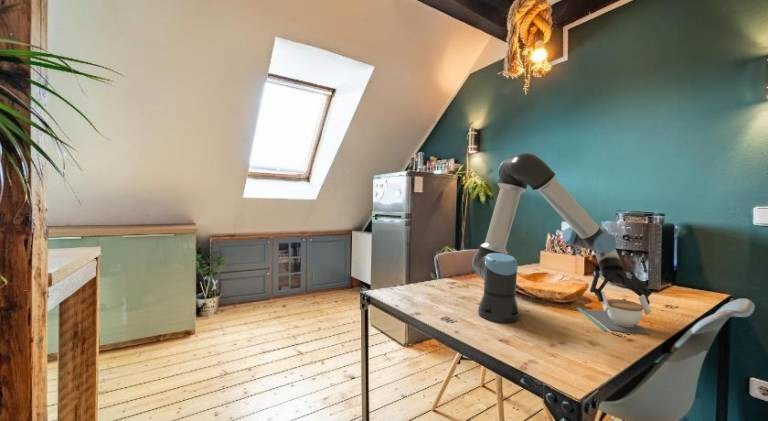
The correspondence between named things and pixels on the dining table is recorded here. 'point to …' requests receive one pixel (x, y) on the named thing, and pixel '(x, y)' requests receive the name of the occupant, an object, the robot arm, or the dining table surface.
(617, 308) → the lidded jar
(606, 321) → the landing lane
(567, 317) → the dining table surface
